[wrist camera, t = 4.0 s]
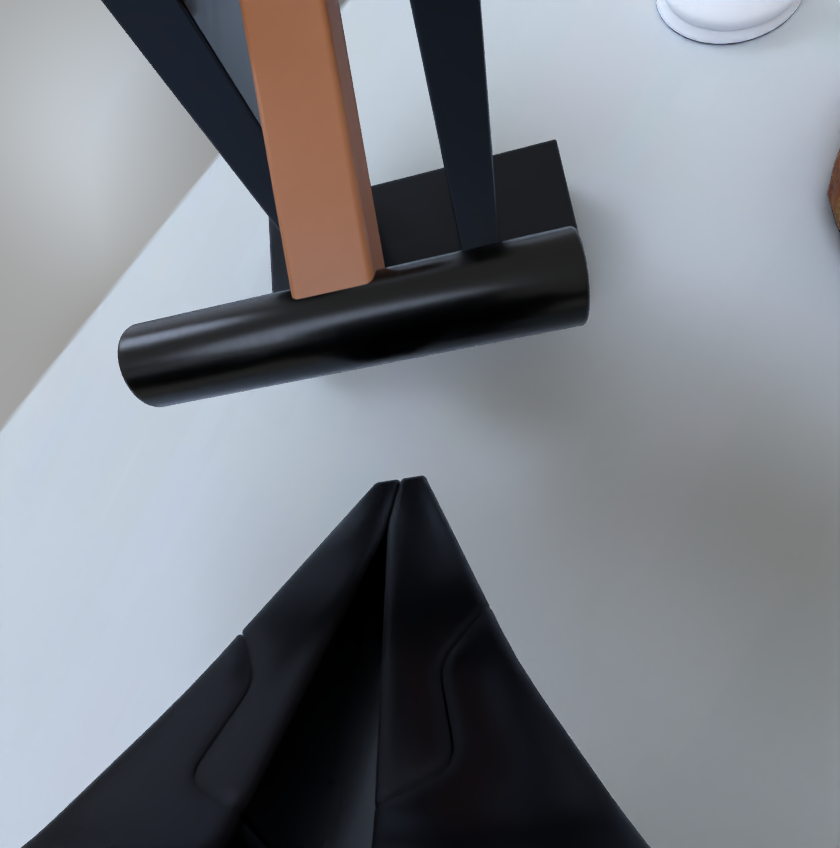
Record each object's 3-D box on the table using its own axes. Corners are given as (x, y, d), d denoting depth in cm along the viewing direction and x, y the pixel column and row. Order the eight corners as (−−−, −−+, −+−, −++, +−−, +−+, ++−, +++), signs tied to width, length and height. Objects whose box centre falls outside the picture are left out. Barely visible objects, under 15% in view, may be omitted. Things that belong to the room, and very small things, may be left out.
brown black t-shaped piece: (572, 337, 7) (608, 304, 5) (204, 406, 8) (87, 408, 6) (469, -277, 7) (454, -613, 5) (107, -134, 8) (-53, -355, 6)
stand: (581, 306, 16) (815, -628, 3) (300, 363, 18) (-291, -119, 5) (552, 181, 18) (639, -849, 5) (292, 244, 19) (-193, -389, 6)
